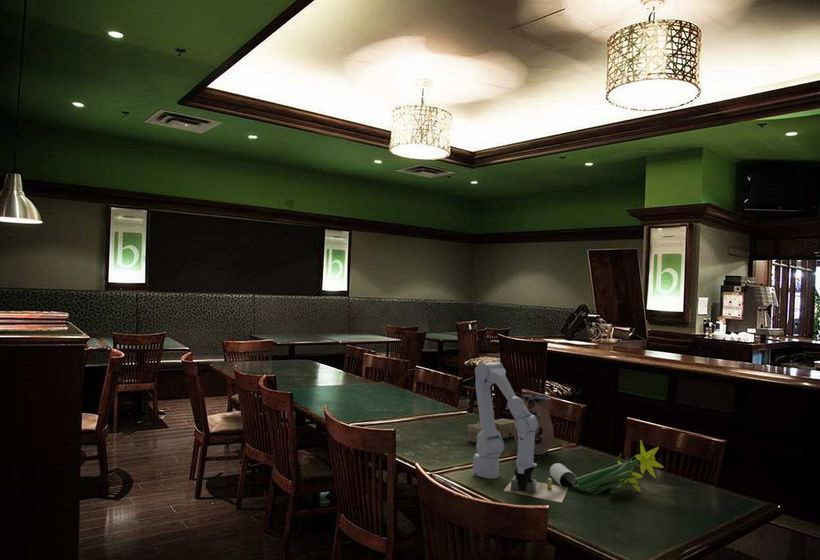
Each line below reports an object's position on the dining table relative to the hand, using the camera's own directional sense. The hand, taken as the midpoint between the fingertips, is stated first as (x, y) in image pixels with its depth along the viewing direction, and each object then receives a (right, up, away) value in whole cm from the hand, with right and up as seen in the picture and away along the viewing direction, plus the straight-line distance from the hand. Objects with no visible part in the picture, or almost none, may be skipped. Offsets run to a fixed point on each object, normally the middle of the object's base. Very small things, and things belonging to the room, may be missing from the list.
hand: (523, 488), depth 197 cm
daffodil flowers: (+34, -4, +6) cm, 35 cm away
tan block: (-1, -3, +72) cm, 72 cm away
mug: (+18, -1, +18) cm, 26 cm away
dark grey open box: (0, -1, 0) cm, 0 cm away
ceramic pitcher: (+16, -4, +54) cm, 56 cm away
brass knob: (+10, -1, +2) cm, 10 cm away
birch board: (+5, -2, +1) cm, 5 cm away
